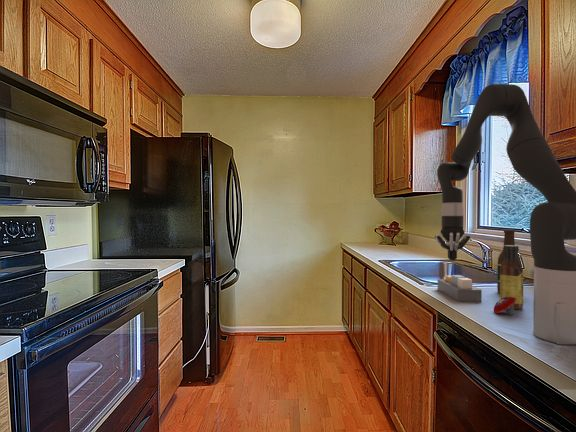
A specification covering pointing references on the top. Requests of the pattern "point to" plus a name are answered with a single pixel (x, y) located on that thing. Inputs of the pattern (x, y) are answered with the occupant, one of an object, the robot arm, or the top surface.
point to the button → (505, 305)
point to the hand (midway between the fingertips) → (452, 260)
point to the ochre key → (448, 278)
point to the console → (459, 291)
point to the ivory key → (464, 283)
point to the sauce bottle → (511, 276)
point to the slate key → (455, 279)
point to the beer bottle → (507, 241)
